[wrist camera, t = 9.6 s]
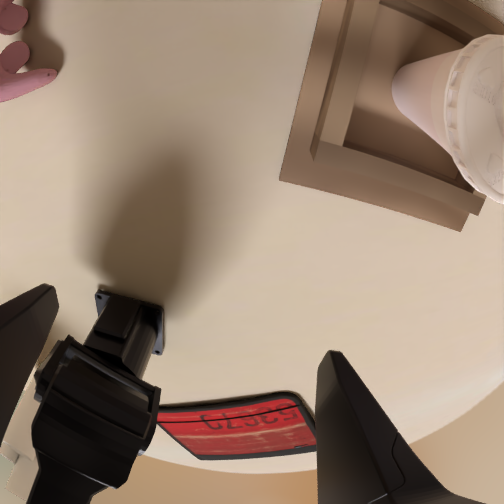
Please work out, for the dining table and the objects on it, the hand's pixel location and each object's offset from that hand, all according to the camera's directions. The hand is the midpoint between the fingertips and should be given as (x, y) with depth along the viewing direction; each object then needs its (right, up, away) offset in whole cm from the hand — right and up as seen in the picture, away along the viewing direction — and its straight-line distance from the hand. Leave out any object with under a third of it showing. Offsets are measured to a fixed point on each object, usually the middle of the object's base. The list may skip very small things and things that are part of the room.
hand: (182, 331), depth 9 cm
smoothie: (+12, +12, +6) cm, 18 cm away
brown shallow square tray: (+12, +12, +6) cm, 18 cm away
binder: (0, -21, +29) cm, 36 cm away
